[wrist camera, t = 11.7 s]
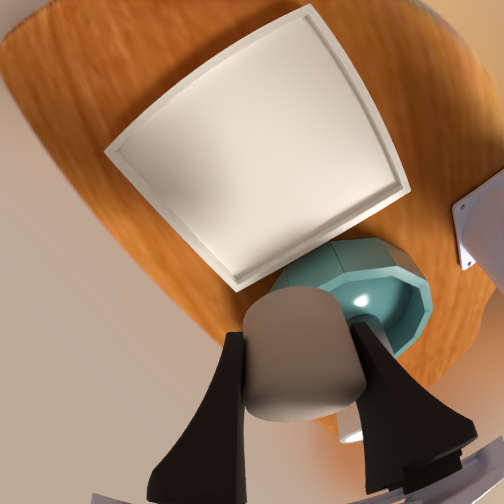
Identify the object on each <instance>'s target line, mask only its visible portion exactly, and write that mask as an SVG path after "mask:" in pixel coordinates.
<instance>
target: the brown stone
mask: <svg viewBox="0 0 504 504" xmlns="http://www.w3.org/2000/svg"><path fill="white" fill-rule="evenodd" d="M243 335H244V383H245V406H246V409H247V411H248V412H249V413H250V414H251V415H253V416H255V417H257V418H260V419H263V420H267V421H273V422H300V421H307V420H312V419H317V418H320V417H324V416H327V415H330V414H332V413H335V412H337V411H339V410H341V409H343V408H345V407H347V406H349V405H350V404H352V403H353V402H355V401H356V400H357V399H358V398H359V397H360V396H361V395H362V394H363V392H364V391H365V389H366V379H365V376H364V373H363V370H362V367H361V364H360V361H359V357H358V354H357V351H356V349H355V346H354V343H353V340H352V337H351V334H350V331H349V328H348V325H347V323H346V320H345V317H344V314H343V312H342V309H341V306H340V304H339V302H338V300H337V299H336V298H335V297H334V296H333V295H332V294H330V293H329V292H327V291H325V290H322V289H319V288H316V287H310V286H294V287H287V288H283V289H279V290H276V291H273V292H271V293H269V294H267V295H265V296H263V297H261V298H260V299H259V300H257V301H256V302H255V303H254V304H253V305H252V306H251V307H250V308H249V309H248V311H247V312H246V314H245V316H244V319H243Z"/></svg>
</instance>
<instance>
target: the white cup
mask: <svg viewBox="0 0 504 504" xmlns="http://www.w3.org/2000/svg"><path fill="white" fill-rule="evenodd" d="M337 420H338V430H339V440H340V442H341V443H354V442H359V441H363V435H362V428H361V422H360V416H359V412H358V408H357V405H356V402H353V403H352V404H350V405H349V406H347V407H345V408H343V409H341V410H339V411H337Z"/></svg>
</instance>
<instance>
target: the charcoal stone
mask: <svg viewBox="0 0 504 504" xmlns="http://www.w3.org/2000/svg"><path fill="white" fill-rule="evenodd" d="M363 321H365V322H366V324H367V325H368V326H369V327H370V329H371V330H372V331H373V333H374V334H375V335H376V336H377V338H378V339H379V340H380V341H381V343H382V344H383V345H384V346H385V348H386V349H387V350H388V351H389V352H390V354H391V355H392V356H393V357H394V358H395V355H394V353H393V350H392V348H391V346H390V343H389V341H388V338H387V336H386V334H385V332H384V329H383V327H382V325H381V322H380V320H379V319H378V317H376V316H374V315H371V314H362V315H358V316H355V317H352V318H350V319H348V320H346V323H347V325H348V328H349V330H350V327H351V324H352V323H355V322H363Z"/></svg>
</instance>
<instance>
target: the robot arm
mask: <svg viewBox="0 0 504 504" xmlns="http://www.w3.org/2000/svg"><path fill="white" fill-rule="evenodd" d="M461 206H462V207H461ZM452 213H453V218H454V224H455V230H456V236H457V243H458V251H459V259H460V267H461V269H462V270H466V269H467V268H469V267H470V266H471V265H473V264H474V263H475V262H477V263H478V265H479V266H480V267H481V268H482V269H483V270H484V272H485V273H486V274H487V275H488V276H489V278H490V279H491V280H492V281H493V283H494V284H495V285H496V286H497V288H498V289H499V290H500V291H501V293H502V294H503V295H504V169H503V170H501V171H500V172H499V173H497V174H496V175H495V176H493V177H492V178H490V179H489V180H488V181H486V182H485V183H484V184H482V185H481V186H479V187H478V188H477V189H475V190H474V191H472V192H471V193H469V194H468V195H467V196H465V197H464V198H462V199H461V200H459V201H458V202H456V203H455V204H454V205H453V207H452ZM349 331H350V334H351V337H352V340H353V343H354V346H355V349H356V351H357V354H358V357H359V361H360V364H361V367H362V370H363V373H364V376H365V379H366V389H365V391H364V392H363V394H362V395H361V396H360V397H359V398H358V399H357V400H356V401H355V402H356V405H357V408H358V412H359V416H360V422H361V428H362V435H363V444H364V454H365V474H366V484H365V488H366V494H367V495H369V494H372V493H375V492H379V491H382V490H385V489H388V490H389V492H387V493H384V494H381V495H378V496H374V497H371V498H368V499H364V500H360V501H357V502H353V503H348V504H391V503H393V502H396V501H399V500H402V499H404V498H406V500H405V502H404V503H401V504H473V503H474V502H476V501H477V500H478V499H479V498H481V497H482V496H483V495H484V494H486V493H487V492H488V491H489V490H490V489H492V488H493V487H494V486H496V485H497V484H498V483H499V482H500V481H502V480H503V479H504V441H503V438H502V436H500V437H499V438H497V439H496V440H494V441H492V442H491V443H490V444H488V445H486V446H485V447H483V448H481V449H480V450H478V451H477V452H475V453H473V454H472V455H470V456H468V457H466V458H465V459H463V460H460V457H459V456H461V455H462V451H461V449H462V448H463V447H465V446H466V445H468V444H470V443H471V442H472V441H474V440H475V439H476V438H477V437H478V435H477V431H476V429H475V426H474V423H473V421H472V420H470V419H468V418H466V417H464V416H462V415H460V414H459V413H457V412H455V411H453V410H452V409H451V408H449V407H447V406H446V405H444V404H443V403H442V402H440V401H439V400H438V399H436V398H435V397H434V396H433V395H431V394H430V393H429V392H428V391H426V390H425V389H424V388H423V387H422V386H421V385H420V384H419V383H417V382H416V381H415V380H414V379H413V378H412V377H411V376H410V375H409V374H408V373H407V372H406V370H405V369H404V368H403V367H402V366H401V365H400V364H399V363H398V362H397V361H396V359H395V358H394V357H393V356H392V355H391V354H390V352H389V351H388V350H387V349H386V348H385V346H384V345H383V344H382V343H381V341H380V340H379V339H378V338H377V336H376V335H375V334H374V333H373V331H372V330H371V329H370V327H369V326H368V325H367V324H366V322H365V321H363V322H355V323H352V324H351V327H350V330H349ZM244 410H245V383H244V335H243V332H228V333H227V334H226V338H225V343H224V347H223V351H222V354H221V357H220V360H219V363H218V366H217V368H216V371H215V374H214V377H213V379H212V381H211V383H210V386H209V388H208V390H207V392H206V395H205V397H204V399H203V401H202V402H201V404H200V406H199V408H198V410H197V412H196V413H195V415H194V417H193V418H192V420H191V422H190V423H189V425H188V426H187V428H186V429H185V431H184V432H183V434H182V436H181V437H180V438H179V439H178V441H177V442H176V444H175V445H174V446H173V447H172V449H171V450H170V451H169V453H168V454H167V455H166V456H165V457H164V458H163V459H162V461H161V462H160V463H159V464H158V465H157V466H156V468H154V470H153V471H152V474H151V476H150V479H149V482H148V487H147V500H148V501H149V502H153V503H157V504H246V503H247V495H246V477H245V459H244V458H245V457H244V433H243V431H244V430H243V429H244V428H243V427H244ZM91 504H131V503H127V502H123V501H119V500H115V499H112V498H108V497H105V496H102V495H98V494H95V493H93V494H92V501H91Z"/></svg>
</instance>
